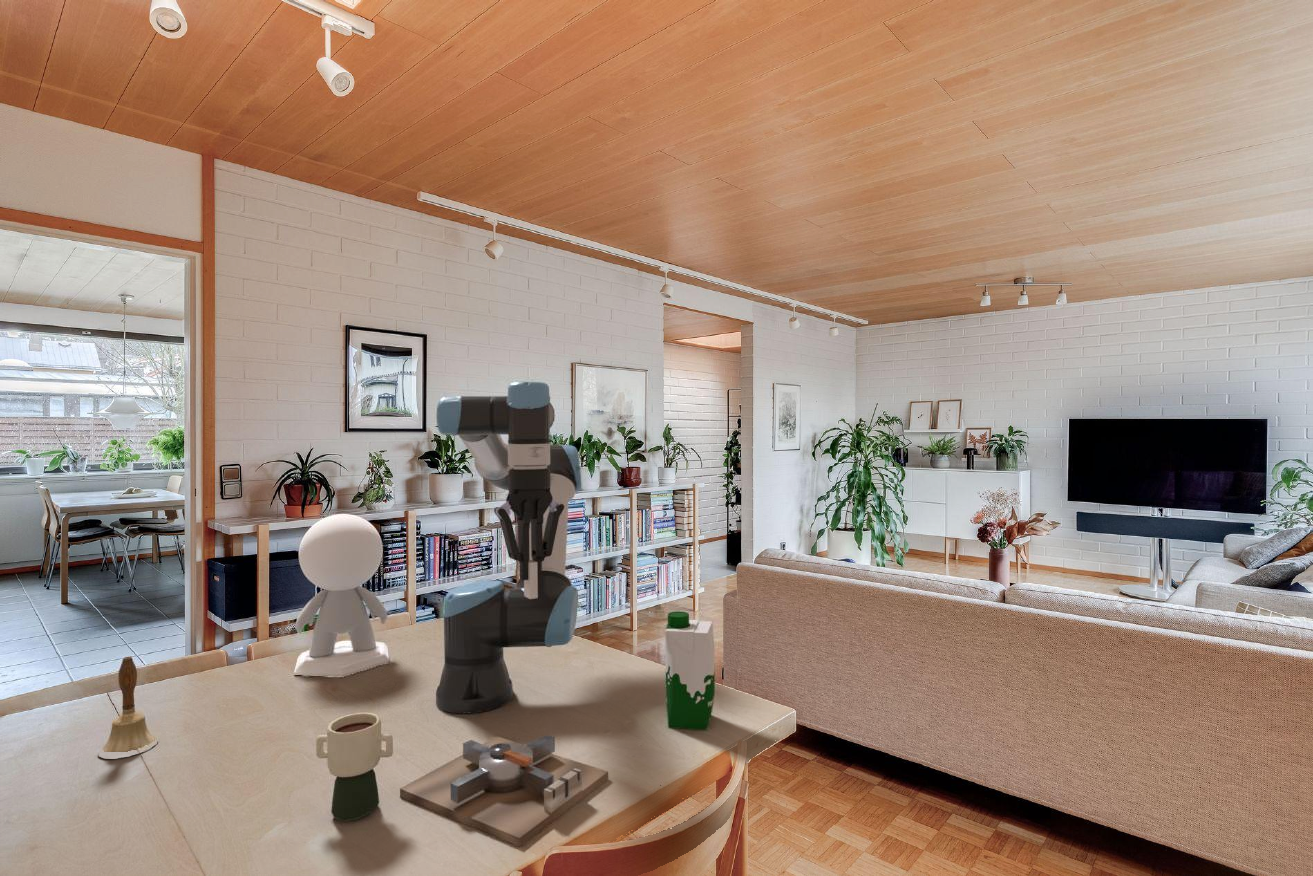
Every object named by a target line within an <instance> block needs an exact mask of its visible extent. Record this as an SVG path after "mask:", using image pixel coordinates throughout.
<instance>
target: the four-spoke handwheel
mask: <svg viewBox="0 0 1313 876" xmlns="http://www.w3.org/2000/svg"><path fill="white" fill-rule="evenodd" d="M555 740H556V737H555V736H552V735H550V734H546V735H544V736H542V737H540V738H538V739H535V740H534V741H532V742H530V743H528V744H526V746H524V745H525V744H523V745H521V744H522V743H519V744H505V743H500V744H495V745H493V746H491V747H490V748H489V747H487V746H485V745H482V744H483V743H480V742H477V741H475V740H473V739H470V740H468V741H465V742H463V743H462V755H463V758H464V759H466V760H468V761H470V762H472V763H475V764H477V765H479V769H478V770H476V771H474V772H472V773H470V774H468V775H466V776H464V777H462V778H460V779H458V780H456V781H454V782H452V783H450V785H451V800H452V801H454V802H456V803H459V802H461V801H463V800H465V799H467V798H469V797H471V796H473V795H474V794H476V793H478V792H480V791H482V790H484V789H486V790H489V791H494V792H507V791H512V790H516V789H519V788H521V787H523V786H525V787H527V788H529V789H531V790H533V791H536V792H538V793H540V794H542V795H544V789H546V788H547V787H549V786H550V785H552V784H553V783H554V775H552V774H550V773H548V772H545V771H543V770H541V769H538V768H536V767H534V766H533V763H534V762H536V761H538V760H540V759H542V758H544V757H546V756H548V755H549V754H554V753H555V752H556V748H555V747H556V746H555V745H556V743H555V742H556V741H555Z"/></svg>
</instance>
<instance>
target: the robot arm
mask: <svg viewBox="0 0 1313 876" xmlns="http://www.w3.org/2000/svg"><path fill="white" fill-rule="evenodd" d="M555 416H556V413H555V408H554V406H553V404H552V403H551V396H550V387H549V385H548V384H547V383H546V382H541V381H540V382H539V381H517V382H516V381H515V382H512V383H509V385H508V387H507V395H498V396H496V395H495V396H494V395H492V396H491V395H489V396H488V395H486V396H485V395H483V396H481V395H480V396H479V395H476V396H475V395H469V396H467V395H456V396H454V395H453V396H444V397H441V398H440V399H439V400H438V403H437V406H436V424H437V428H438V431H439V433H440V434H442V435H444V436H452V437H455V436H459V438H460V440H461V442H463V444H464V446H465V448H466V449H467V450H468V452H469V453H470V455H471V457H472V458H473V459H474V460H473V461H474V462H473V463H474V467H475V470H476V471H477V473H478V475H479V476H480V477H482V479H483V480H484V481H486V482H488V483H489V484H490V485H493V486H495V487H497V488H500V489H501V490H504V491H508V494H507V497H506V500H505V502H504V503H503V504H502V505H500V506H497V507H495V508H494V510H493V513H494V514H495V515H496V517H497V519H498V520H499V522H500V527H501V530H502V531H501V532H502V534H503V537H504V538H503V539H504V542H505V546H506V547H505V548H506V551H507V554H508V557H509V558H510V559H512V560H514V561H516V562H517V561H518V567H519V568H518V569H519V570H518V572H519V574H518V576H519V578H518V579H517V581H516V588H504V587H505V586H504V584H503V582H502V581H501V580H492V579H491V580H481V581H475V582H470V583H467V584H463V585H460V586H457V587H454V588H453V589H451V590H450V591H449V592H448V593H446V595H445V597H444V601H443V602H444V603H443V605H444V606H443V613H442V617H443V637H444V638H443V639H444V640H443V643H444V644H443V646H444V664H443V669H442V672H441V675H440V680H439V685H438V686H437V688H436V689H435V690H436V691H435V705H436V706H437V708H439V709H440V710H442V711H443V712H448V713H453V714H474V713H481V712H487V711H492V710H494V709H497V708H499V707H500V708H501V707H502V706H504V705H505V704H507V703H508V702H509V701H511V700H512V698H513V696H514V695H513V694H514V693H513V689H514V688H513V681H512V679H511V678H510V675H509V674H510V673H509V671H508V668H507V664H506V661H505V658H504V648H527V647H529V648H530V647H531V648H532V647H536V648H537V647H546V648H551V647H554V646H564V645H568V644H569V643H570V642H571V640H572V639H573V637H574V633H575V630H576V624H577V618H578V617H577V616H578V607H579V590H578V588H577V587H575V586H572V584H573V583H572V581H571V579H570V578H569V576H568V575H566V565H567V546H568V545H567V544H568V543H567V541H568V520H569V518H568V516H569V502H571V501H572V500H573V499H574V497H575V495H576V493H577V492H580V491H581V490H582V475H581V474H582V473H581V469H580V458H579V456H580V455H579V452H578V448H577V447H576V446H573V445H568V444H567V445H566V444H561V443H560V444H558V445H557V444H556V445H551V437H550V436H551V433H550V430H551V428H552V427H553V425H554V423H555ZM501 435H508V436H507V437H508V439H507V442H508V444H507V443H505V442H504V440H503V438H502V436H501ZM511 511H512V512H513V514H514V515H515V517H516V524H517V538H516V534H515V531H514V530H515V529H514V527H513V522H512V520H511V517H510V515H511Z"/></svg>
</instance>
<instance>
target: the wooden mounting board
mask: <svg viewBox="0 0 1313 876" xmlns="http://www.w3.org/2000/svg"><path fill="white" fill-rule="evenodd" d="M500 743H505V744H521V745H524V746H526V745H527V744H526V745H525V744H522V743H519V742H516V741H512V740H510V739H506V738H504V737H500V736H498V735H497V736H494V737H493V738H491V739H489V740H487V741H485V742H484V743H481V744H482V745H485V746H487V747H489V748H490V747H491V746H493V745H495V744H500ZM533 766H534V767H536V768H538V769H541V770H543V771H545V772H548V773H550V774H552V775H554V783H553V784H552V785H550V786H549V787H547V788H546V789H544V795H542V794H540V793H538V792H536V791H533V790H531V789H529V788H527V787H525V786H523V787H521V788H519V789H516V790H512V791H507V792H494V791H489V790H486V789H484V790H482V791H480V792H478V793H476V794H474V795H473V796H471V797H469V798H467V799H465V800H463V801H461V802H459V803H456V802H454V801H452V800H451V785H450V783H452V782H454V781H456V780H458V779H460V778H462V777H464V776H466V775H468V774H470V773H472V772H474V771H476V770H478V769H479V765H477V764H475V763H472V762H470V761H468V760H466V759H464V758H463V754H461V755H459V756H458V757H456V758H454V759H452V760H450V761H449V762H446V763H445V764H443V765H441V766H439V767H437V768H436V769H433V770H432V771H429V772H428V773H426V774H423V776H421V777H419V778H417V779H415V780H414V781H411V782H409V783H407V784H406V785H403V786H402V787H400V788H399V797H400V798H403V799H405V800H407V801H409V802H412V803H414V804H417V805H419V806H421V807H425V808H427V809H428V810H431V811H432V812H433V811H434V812H436V813H438V814H440V815H443V816H445V817H447V818H450V819H452V820H455V821H456V822H459V823H461V824H463V825H465V826H466V825H467V826H468V827H472V828H474V829H476V830H479V831H480V832H483V833H485V834H488V835H489V836H490V835H491V836H493V837H495V838H497V839H500V840H502V841H505V842H507V843H509V844H511V845H513V846H516V847H519V848H520V847H523V845H525V844H526V843H527V842H529V841H530V840H531V839H532V838H533V837H535V836H536V835H538V834H539V833H541V831H542V830H544V829H545V828H547V827H548V826H549V825H551V824H552V823H553V822H555V821H556V820H557V819H558V818H560V817H561V816H562V815H564V814H565V813H566V812H568V811H569V810H570V809H571V808H573V807H574V806H575V805H576V804H578V803H579V802H580V801H582V800H583V799H585V798H586V797H587V796H589V795H590V794H591V793H593V792H594V791H596V789H598V788H599V787H601V785H602V784H604V783H605V782H607V781H608V780H609V771H608V770H604V769H602V768H598V767H594V766H591V765H589V764H585V763H583V762H579V761H576V760H572V759H570V758H567V757H563V756H560V755H556V754H554V753H551V754H549V755H548V756H546V757H544V758H542V759H540V760H538V761H536V762H534V763H533Z"/></svg>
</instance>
